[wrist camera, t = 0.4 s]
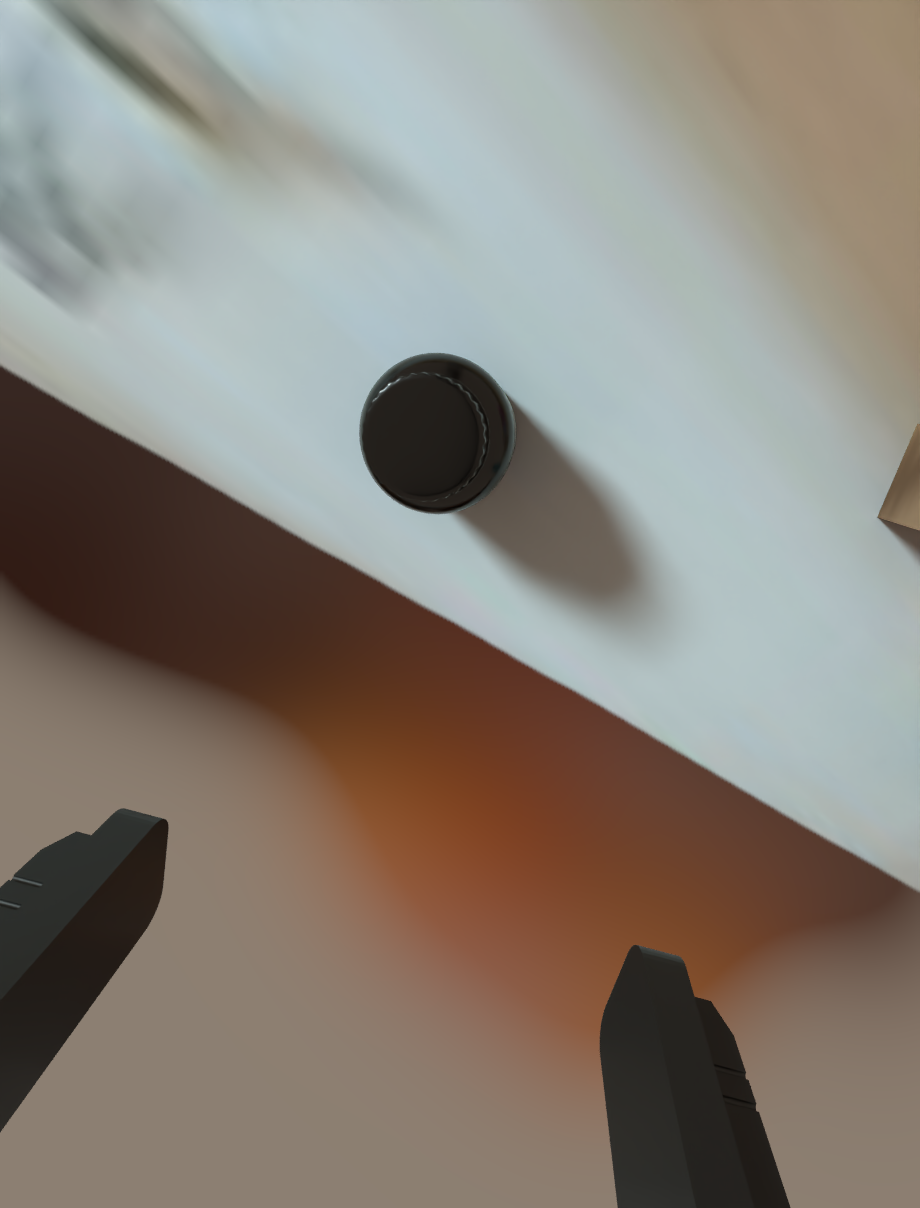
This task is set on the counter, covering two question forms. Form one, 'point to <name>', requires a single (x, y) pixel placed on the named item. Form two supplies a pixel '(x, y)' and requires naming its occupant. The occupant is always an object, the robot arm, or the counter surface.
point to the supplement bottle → (437, 433)
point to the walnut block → (905, 488)
